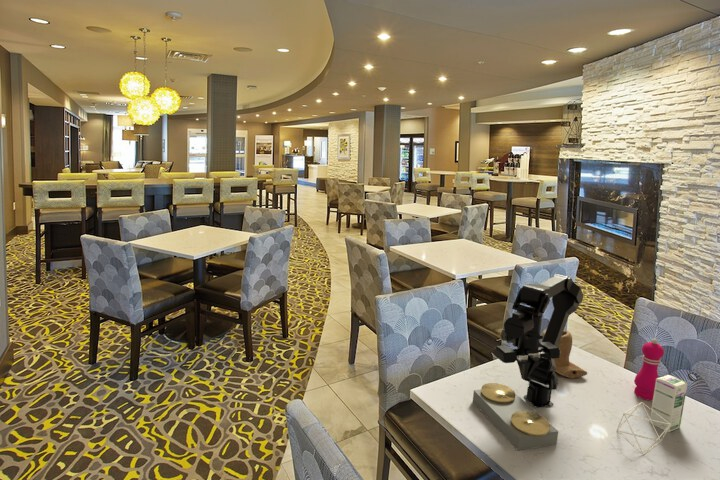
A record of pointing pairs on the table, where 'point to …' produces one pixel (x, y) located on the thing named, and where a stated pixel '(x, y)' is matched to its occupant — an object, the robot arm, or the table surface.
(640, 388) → the pepper mill
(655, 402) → the syrup box
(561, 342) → the tan boot
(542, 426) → the knob
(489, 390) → the knob
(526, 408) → the panel
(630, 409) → the geometric polyhedron
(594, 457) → the table surface
